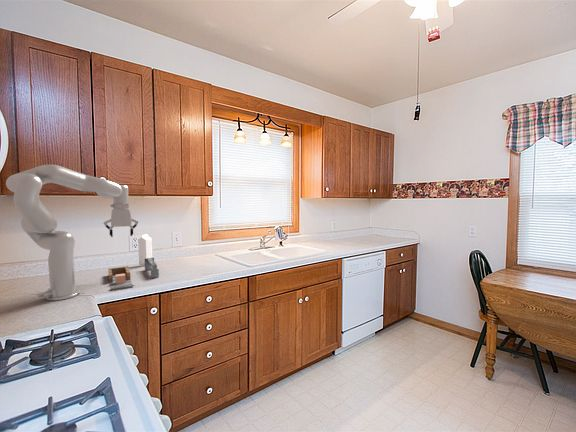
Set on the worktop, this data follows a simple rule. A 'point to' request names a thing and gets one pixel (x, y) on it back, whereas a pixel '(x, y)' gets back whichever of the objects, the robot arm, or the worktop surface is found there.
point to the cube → (120, 279)
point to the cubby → (112, 278)
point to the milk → (144, 249)
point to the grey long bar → (151, 267)
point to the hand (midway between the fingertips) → (121, 236)
